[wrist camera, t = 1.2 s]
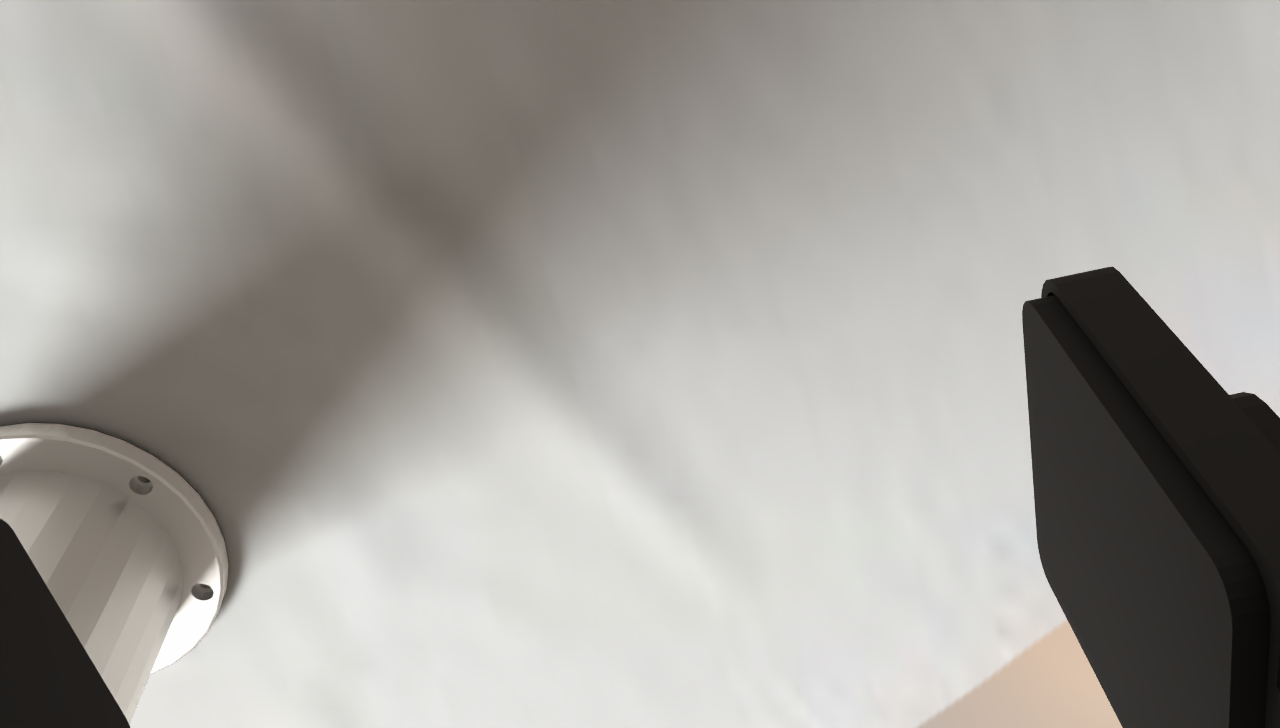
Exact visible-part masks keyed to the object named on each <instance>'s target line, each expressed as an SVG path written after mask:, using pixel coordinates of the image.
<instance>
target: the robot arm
mask: <svg viewBox="0 0 1280 728" xmlns="http://www.w3.org/2000/svg"><path fill="white" fill-rule="evenodd" d="M1022 316H1023V334H1024V349H1025V364H1026V379H1027V394H1028V409H1029V424H1030V439H1031V454H1032V469H1033V484H1034V499H1035V514H1036V528H1037V541H1038V549H1039V554H1040V559H1041V562H1042V566H1043V569H1044V572H1045V575H1046V578H1047V580H1048V582H1049V584H1050V586H1051V588H1052V590H1053V592H1054V594H1055V596H1056V598H1057V600H1058V602H1059V604H1060V606H1061V608H1062V610H1063V612H1064V614H1065V616H1066V618H1067V620H1068V622H1069V623H1070V625H1071V627H1072V629H1073V631H1074V633H1075V635H1076V637H1077V639H1078V641H1079V643H1080V645H1081V647H1082V649H1083V651H1084V653H1085V655H1086V657H1087V658H1088V661H1089V663H1090V665H1091V666H1092V668H1093V670H1094V672H1095V674H1096V676H1097V678H1098V680H1099V682H1100V684H1101V686H1102V688H1103V690H1104V692H1105V694H1106V696H1107V698H1108V700H1109V701H1110V704H1111V706H1112V707H1113V709H1114V711H1115V713H1116V715H1117V717H1118V719H1119V721H1120V723H1121V725H1122V727H1123V728H1280V418H1279V417H1278V416H1277V415H1276V414H1275V413H1274V411H1273V410H1272V409H1271V408H1270V407H1269V406H1268V405H1267V404H1266V403H1265V402H1263V401H1262V400H1261V399H1260V398H1258V397H1257V396H1256V395H1255V394H1250V393H1245V392H1242V393H1237V394H1232V395H1228V394H1227V392H1226V391H1225V390H1224V389H1223V388H1222V387H1221V386H1220V385H1219V383H1218V382H1217V381H1216V380H1215V379H1214V378H1213V377H1212V376H1211V374H1210V373H1209V372H1208V371H1207V370H1206V369H1205V368H1204V367H1203V365H1202V364H1201V363H1200V362H1199V361H1198V360H1197V359H1196V358H1195V356H1194V355H1193V354H1192V353H1191V352H1190V351H1189V350H1188V349H1187V347H1186V346H1185V345H1184V344H1183V343H1182V342H1181V341H1180V340H1179V338H1178V337H1177V336H1176V335H1175V334H1174V333H1173V332H1172V331H1171V329H1170V328H1169V327H1168V326H1167V325H1166V324H1165V323H1164V322H1163V320H1162V319H1161V318H1160V317H1159V316H1158V315H1157V314H1156V313H1155V311H1154V310H1153V309H1152V308H1151V307H1150V306H1149V305H1148V304H1147V302H1146V301H1145V300H1144V299H1143V298H1142V297H1141V296H1140V295H1139V293H1138V292H1137V291H1136V290H1135V289H1134V288H1133V287H1132V286H1131V284H1130V283H1129V282H1128V281H1127V280H1126V279H1125V278H1124V277H1123V275H1122V274H1121V273H1120V272H1119V271H1118V270H1116V269H1115V268H1114V267H1107V268H1102V269H1097V270H1093V271H1088V272H1083V273H1078V274H1074V275H1069V276H1064V277H1059V278H1055V279H1050V280H1046V281H1045V283H1044V284H1043V289H1042V298H1040V299H1035V300H1030V301H1026V302H1025V303H1024V305H1023V311H1022ZM227 579H228V558H227V553H226V547H225V541H224V539H223V536H222V534H221V532H220V529H219V527H218V524H217V522H216V520H215V517H214V516H213V514H212V513H211V511H210V510H209V509H208V507H207V506H206V504H205V503H204V501H203V500H202V498H201V497H200V495H199V494H198V493H197V492H196V491H195V490H194V489H193V488H192V487H191V486H190V485H189V484H188V483H187V482H186V481H185V480H184V479H183V478H182V477H181V476H180V475H179V474H178V473H176V472H175V471H174V470H172V469H171V468H170V467H168V466H167V465H165V464H164V463H163V462H161V461H160V460H159V459H157V458H156V457H154V456H153V455H151V454H149V453H147V452H145V451H143V450H141V449H139V448H137V447H135V446H133V445H132V444H130V443H128V442H126V441H124V440H121V439H118V438H115V437H112V436H109V435H106V434H103V433H100V432H97V431H94V430H90V429H84V428H79V427H74V426H68V425H63V424H44V423H24V424H16V425H8V426H1V427H0V728H130V725H129V724H130V721H131V719H132V717H133V714H134V712H135V709H136V707H137V705H138V702H139V700H140V698H141V695H142V693H143V690H144V688H145V686H146V683H147V681H148V678H149V676H150V674H153V673H155V672H157V671H159V670H161V669H163V668H165V667H167V666H169V665H171V664H173V663H175V662H177V661H178V660H179V659H181V658H182V657H183V656H185V655H186V654H187V653H189V652H190V651H191V650H193V649H194V648H195V647H196V646H197V645H198V643H199V642H200V641H201V640H202V639H203V637H204V636H205V635H206V634H207V633H208V631H209V630H210V628H211V626H212V624H213V622H214V620H215V618H216V616H217V614H218V612H219V610H220V607H221V603H222V600H223V597H224V594H225V591H226V588H227Z"/></svg>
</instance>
